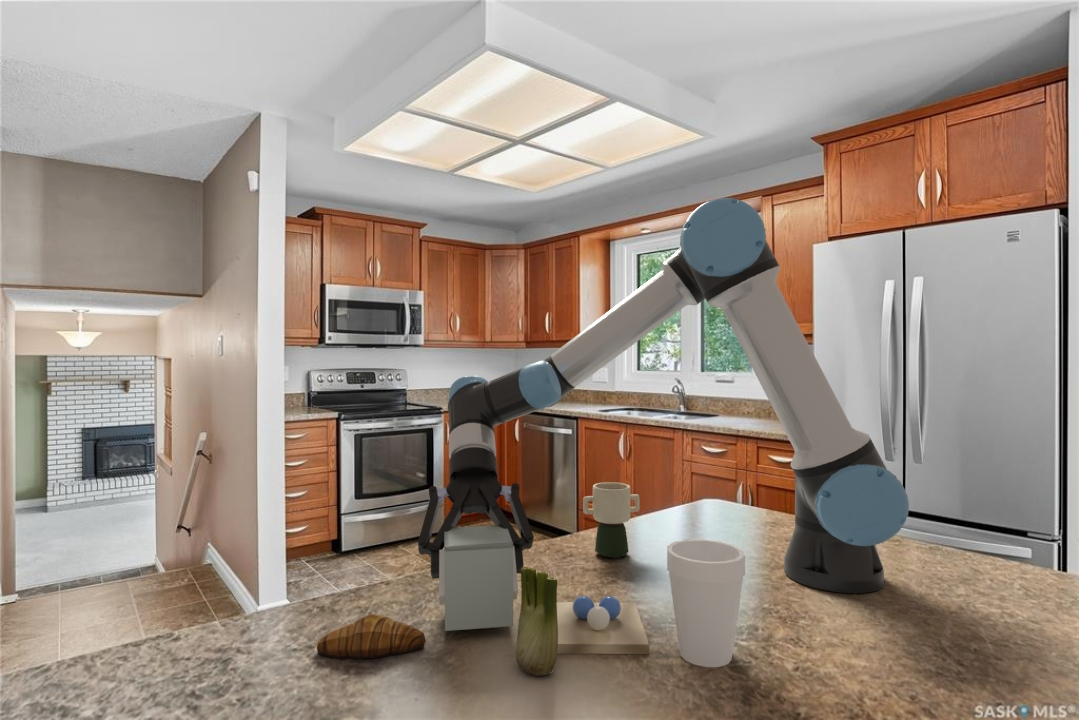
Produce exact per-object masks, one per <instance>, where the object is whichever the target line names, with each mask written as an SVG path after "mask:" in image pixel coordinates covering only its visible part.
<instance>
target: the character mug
mask: <svg viewBox="0 0 1079 720" xmlns="http://www.w3.org/2000/svg"><path fill="white" fill-rule="evenodd" d="M631 493H632V491H631V485H630V484H626V483H622V482H616V481H615V482H611V481H610V482H609V481H608V482H607V481H606V482H605V481H604V482H599V483H595V484H593V485H592V495H587V496H584V497H583V499H582V512H583V514H585V515H592V516H593V519H594V521H596V522H599V523H598V526H597V530H596V538H595V548H594V551H595V552H596V553H597V554H598V555H601V556H604V557H609V558H621V557H624V556H626V555H627V554H628V553H629V544H628V536H627V528H626V526H625V523H626V522H629V521H630V519H631V515H632V513H636V512H637V513H638V512H639V511H640V508H641V507H640V495H639V494H637V493H636V494H634V493H633V494H631ZM632 500H634V506H631V503H632V502H631V501H632ZM589 502H592V508H589Z"/></svg>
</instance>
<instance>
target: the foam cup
mask: <svg viewBox="0 0 1079 720" xmlns="http://www.w3.org/2000/svg"><path fill="white" fill-rule="evenodd" d="M666 559H667V560H666V567H667V568H666V570H667V572H668V573H669V581H670V590H671V597H672V605H673V612H674V619H675V627H676V634H677V642H678V650H679V656H680V657H682V658H683V660H685V661H686V662H688V663H690V664H692V665H695V666H699V667H704V668H721V667H724V666H726V665H729V663H730V662H731V661H732V660H733V657H732V656H733V654H734V647H735V646H734V645H735V639H736V632H737V631H736V630H737V624H738V618H739V617H738V616H739V608H740V602H741V593H742V588H743V581H744V577H745V575H746V555H745V552H744V550H743V549H741V548H739V547H738V546H736V545H734V544H731V543H727V542H723V541H720V540H718V541H717V540H710V539H703V538H702V539H683V540H678V541H673V542H670V543H669V544H668V545H666Z"/></svg>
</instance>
